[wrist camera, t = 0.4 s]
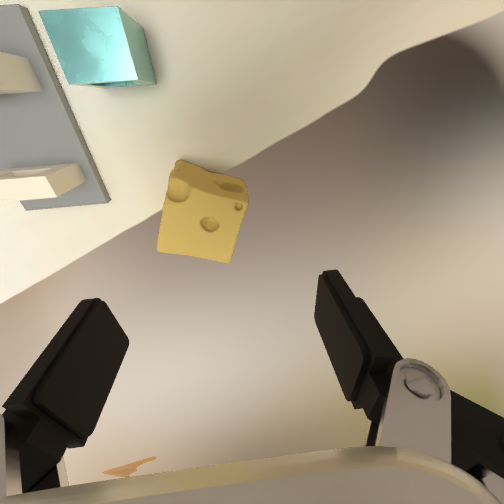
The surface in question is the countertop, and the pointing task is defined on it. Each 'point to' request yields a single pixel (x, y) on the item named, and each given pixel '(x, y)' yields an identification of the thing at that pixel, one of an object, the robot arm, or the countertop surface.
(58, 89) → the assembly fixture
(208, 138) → the countertop surface
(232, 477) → the robot arm
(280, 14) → the countertop surface
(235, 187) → the cheese
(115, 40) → the frame
